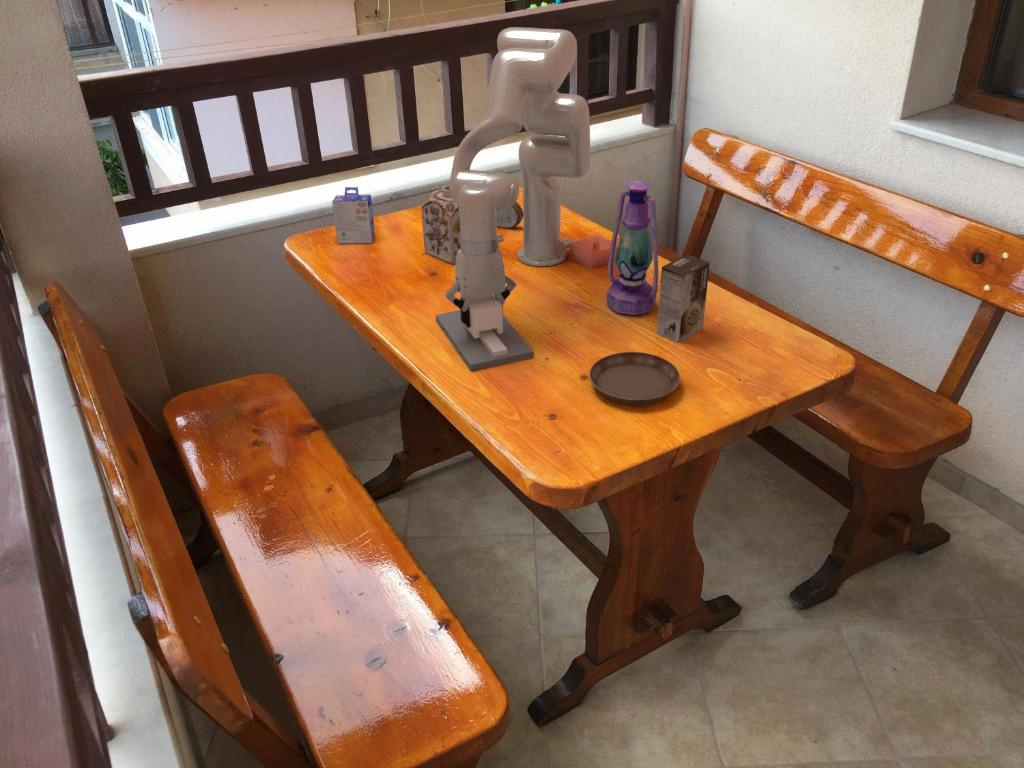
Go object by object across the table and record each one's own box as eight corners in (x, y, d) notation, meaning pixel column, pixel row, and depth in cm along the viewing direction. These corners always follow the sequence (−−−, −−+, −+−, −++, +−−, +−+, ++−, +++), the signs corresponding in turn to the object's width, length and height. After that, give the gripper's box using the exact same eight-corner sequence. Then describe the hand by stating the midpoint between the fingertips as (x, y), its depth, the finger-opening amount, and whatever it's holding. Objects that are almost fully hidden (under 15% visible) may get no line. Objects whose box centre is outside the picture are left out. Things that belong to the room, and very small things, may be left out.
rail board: (493, 309, 200) (493, 299, 198) (533, 357, 181) (533, 346, 179) (435, 320, 195) (435, 310, 194) (470, 371, 176) (470, 359, 175)
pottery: (569, 257, 224) (570, 222, 219) (597, 249, 229) (599, 214, 224) (613, 282, 212) (615, 244, 206) (642, 272, 216) (645, 235, 211)
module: (489, 317, 191) (489, 290, 187) (502, 332, 184) (502, 305, 181) (462, 322, 189) (461, 295, 185) (474, 338, 182) (473, 311, 179)
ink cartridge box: (376, 236, 239) (370, 185, 231) (373, 244, 234) (367, 192, 226) (340, 236, 239) (334, 185, 231) (337, 244, 234) (330, 193, 226)
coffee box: (679, 319, 194) (686, 253, 185) (703, 328, 190) (711, 261, 182) (654, 333, 189) (660, 265, 180) (679, 343, 185) (685, 274, 176)
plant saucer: (616, 420, 161) (616, 407, 159) (573, 375, 175) (574, 362, 173) (696, 399, 167) (697, 385, 165) (649, 357, 181) (650, 344, 179)
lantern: (593, 306, 200) (597, 180, 184) (622, 289, 207) (630, 167, 191) (639, 323, 193) (648, 194, 177) (668, 305, 200) (680, 180, 184)
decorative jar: (486, 252, 228) (483, 186, 218) (453, 265, 221) (449, 198, 211) (455, 240, 235) (452, 176, 225) (423, 253, 228) (418, 187, 219)
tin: (523, 228, 242) (523, 199, 237) (519, 231, 240) (518, 202, 235) (475, 220, 247) (474, 192, 243) (470, 224, 245) (469, 195, 240)
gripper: (511, 231, 182) (512, 307, 191) (433, 244, 177) (438, 321, 186) (525, 244, 176) (525, 322, 185) (444, 257, 171) (449, 337, 180)
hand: (482, 321), depth 186 cm, fingers closed on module, 6 cm apart
